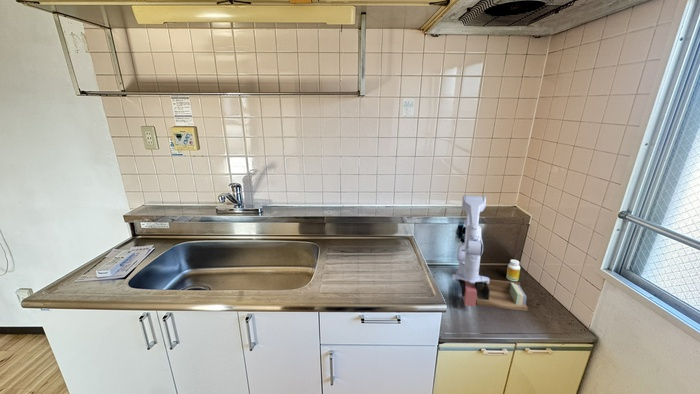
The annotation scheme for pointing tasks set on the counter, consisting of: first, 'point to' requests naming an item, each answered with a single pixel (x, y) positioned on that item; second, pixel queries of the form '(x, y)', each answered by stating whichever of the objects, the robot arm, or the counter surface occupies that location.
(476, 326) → the counter surface
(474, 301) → the tall pink block
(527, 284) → the counter surface
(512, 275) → the supplement bottle
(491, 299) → the shelf
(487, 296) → the bookend
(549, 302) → the counter surface
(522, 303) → the books
